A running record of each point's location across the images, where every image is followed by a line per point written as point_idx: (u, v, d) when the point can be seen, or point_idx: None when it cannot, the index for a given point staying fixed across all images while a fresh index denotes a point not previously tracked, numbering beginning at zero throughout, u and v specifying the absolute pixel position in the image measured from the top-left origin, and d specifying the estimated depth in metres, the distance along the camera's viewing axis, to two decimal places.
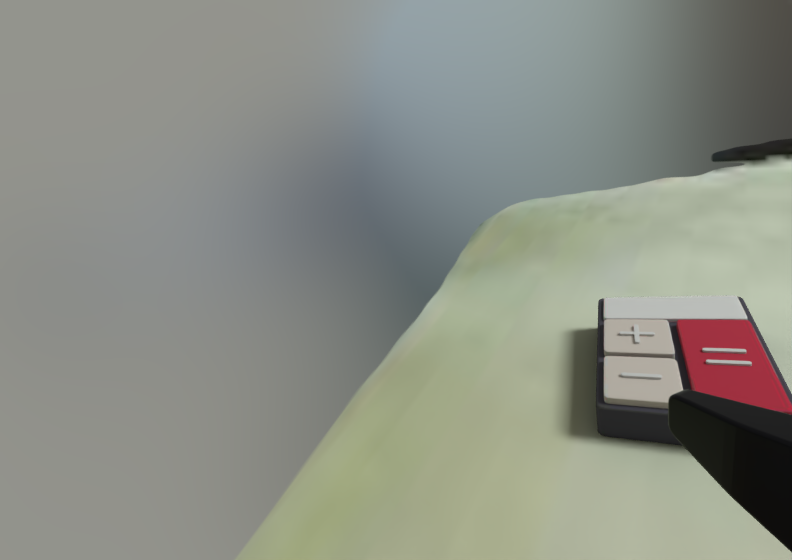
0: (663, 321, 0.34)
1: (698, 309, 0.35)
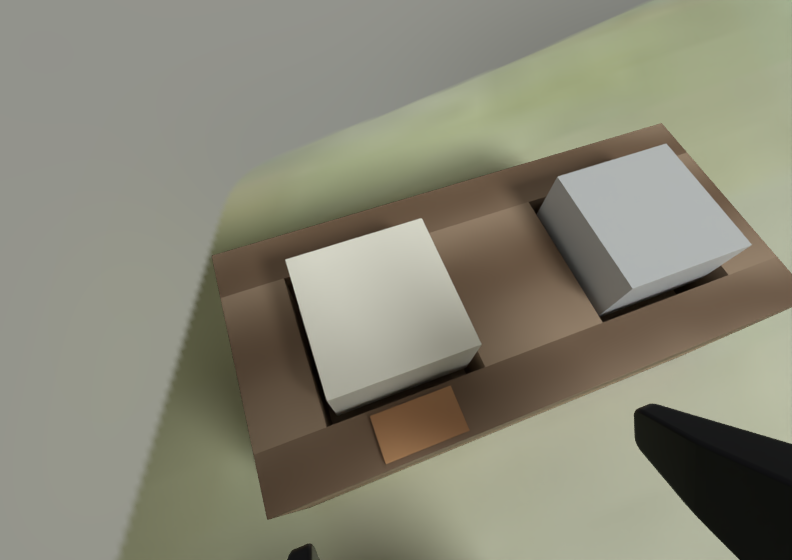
0: None
1: None
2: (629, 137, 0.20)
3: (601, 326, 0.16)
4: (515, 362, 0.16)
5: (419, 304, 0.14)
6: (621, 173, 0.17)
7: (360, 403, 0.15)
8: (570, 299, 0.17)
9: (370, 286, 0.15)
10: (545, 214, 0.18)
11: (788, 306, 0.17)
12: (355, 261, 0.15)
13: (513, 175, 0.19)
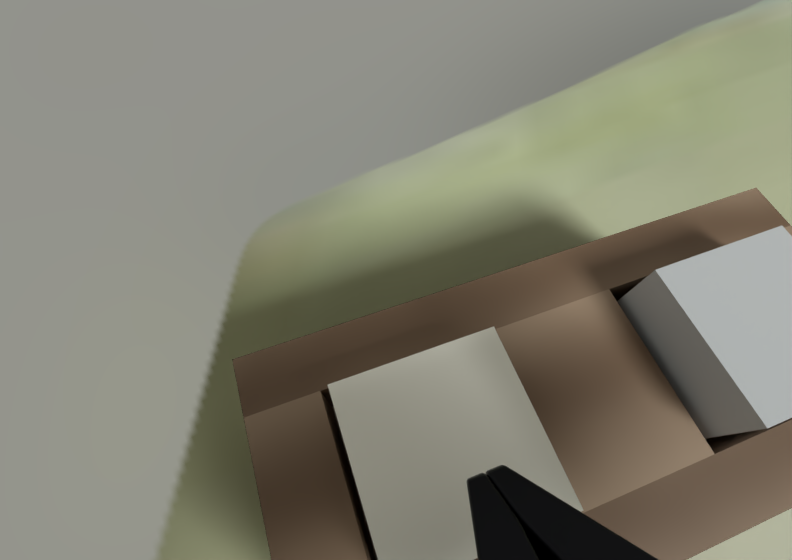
0: None
1: None
2: (720, 205, 0.17)
3: (713, 459, 0.13)
4: (611, 509, 0.12)
5: (499, 451, 0.11)
6: (732, 265, 0.14)
7: None
8: (671, 421, 0.14)
9: (435, 423, 0.12)
10: (630, 305, 0.15)
11: None
12: (415, 387, 0.12)
13: (588, 254, 0.16)
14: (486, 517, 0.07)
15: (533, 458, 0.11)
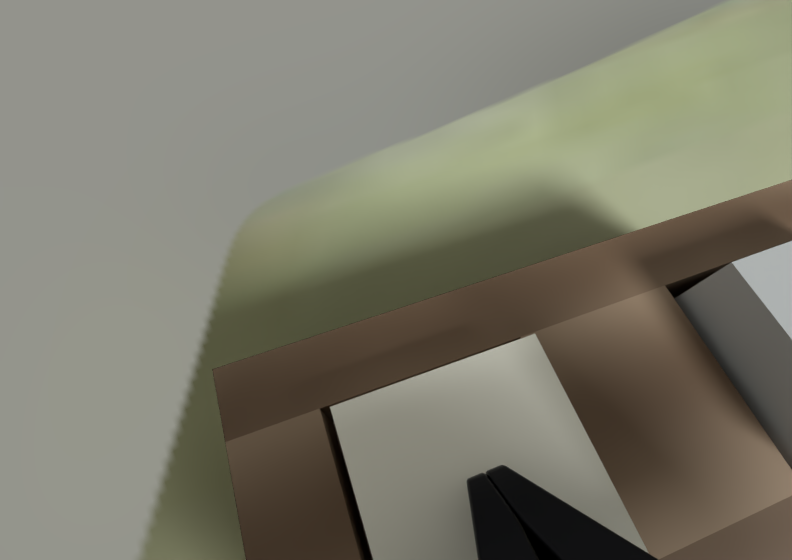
0: None
1: None
2: (790, 187, 0.15)
3: None
4: None
5: None
6: None
7: None
8: (750, 448, 0.11)
9: (466, 457, 0.09)
10: (691, 305, 0.13)
11: None
12: (439, 410, 0.10)
13: (638, 243, 0.14)
14: (486, 517, 0.07)
15: (591, 503, 0.09)
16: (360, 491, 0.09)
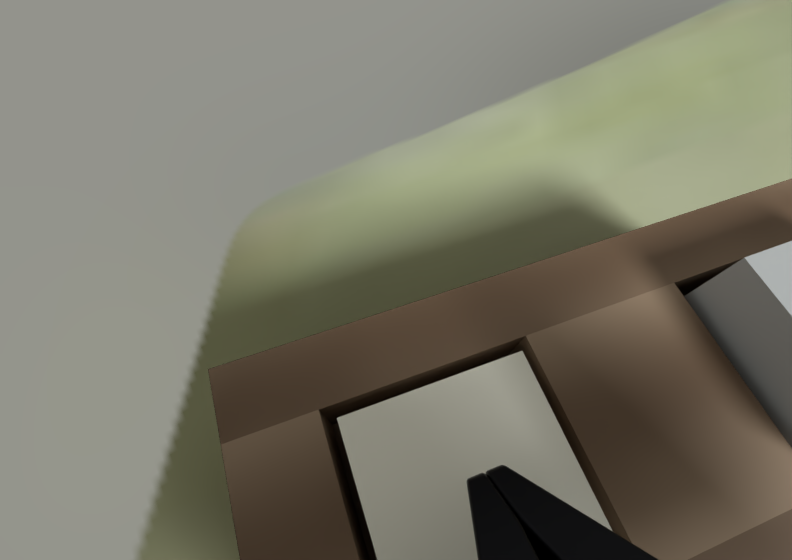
0: None
1: None
2: None
3: None
4: None
5: None
6: None
7: None
8: (765, 450, 0.11)
9: (459, 463, 0.10)
10: (702, 303, 0.12)
11: None
12: (435, 421, 0.11)
13: (646, 240, 0.13)
14: (486, 517, 0.07)
15: (571, 505, 0.10)
16: (364, 494, 0.10)
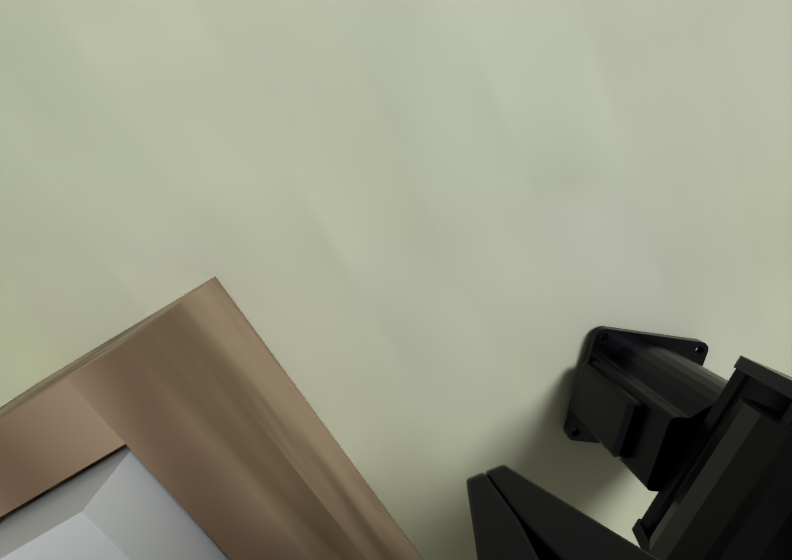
0: None
1: None
2: None
3: None
4: None
5: None
6: None
7: None
8: None
9: None
10: None
11: (151, 376, 0.12)
12: None
13: None
14: (486, 517, 0.07)
15: None
16: None
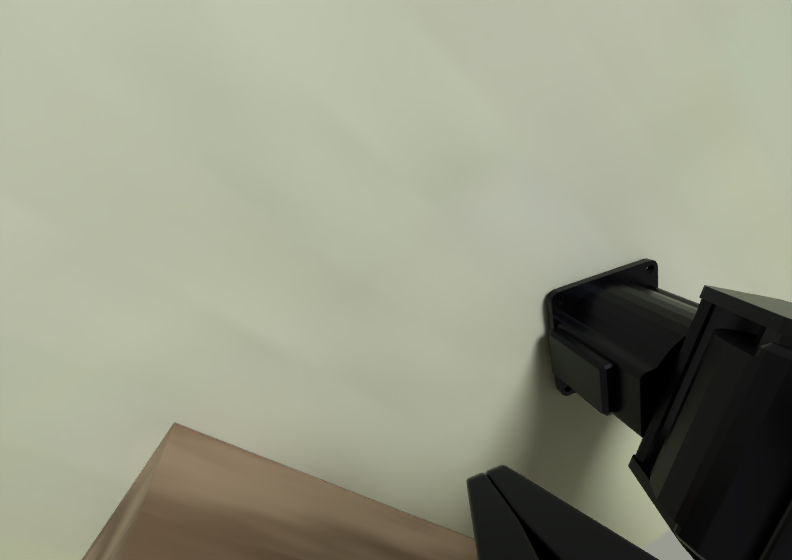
0: None
1: None
2: None
3: None
4: None
5: None
6: None
7: None
8: None
9: None
10: None
11: None
12: None
13: None
14: (486, 517, 0.07)
15: None
16: None
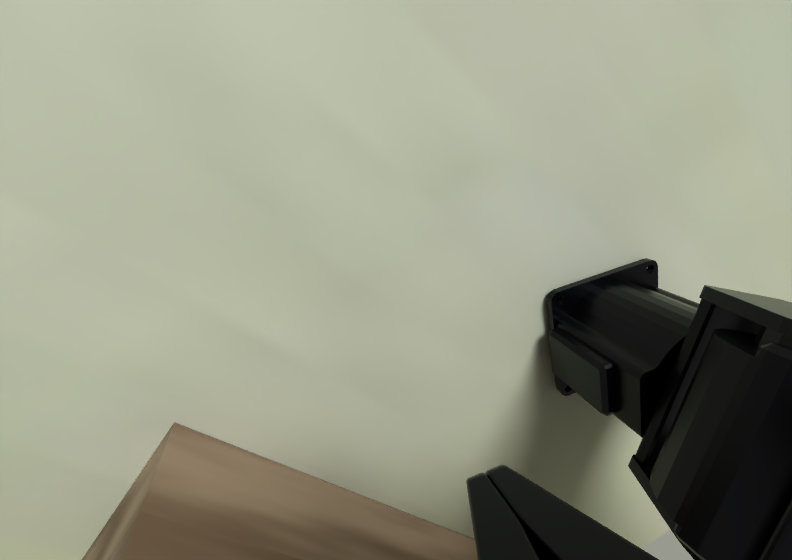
0: None
1: None
2: None
3: None
4: None
5: None
6: None
7: None
8: None
9: None
10: None
11: None
12: None
13: None
14: (486, 517, 0.07)
15: None
16: None
